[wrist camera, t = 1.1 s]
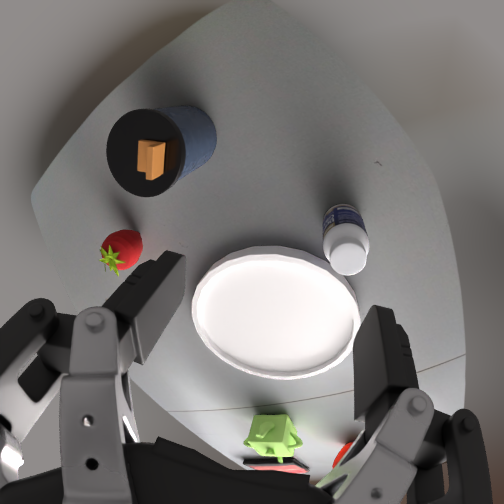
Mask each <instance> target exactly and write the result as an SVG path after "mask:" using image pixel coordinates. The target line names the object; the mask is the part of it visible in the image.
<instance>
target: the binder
mask: <svg viewBox="0 0 504 504" xmlns="http://www.w3.org/2000/svg"><path fill="white" fill-rule="evenodd" d="M243 465H246V466H248V467H251V468H253V469H255V470H278V471H284V472H290V473H307V472H309V471H310V470H309V469H307V468H306V467H304V466H303V465H302V464H300V463H299V462H298V461H297V460H296V459H294V458H286V459H283V463H280V462H278V459H266V460H244V461H243Z"/></svg>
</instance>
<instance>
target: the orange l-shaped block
mask: <svg viewBox="0 0 504 504" xmlns="http://www.w3.org/2000/svg"><path fill="white" fill-rule="evenodd" d="M164 154H165V142H157V141H149V140H139V143H138V165H137V171H141V172H146V179H147V180H153V179H155V178H157V177H158V176H160V175H161V174H163V169H164Z"/></svg>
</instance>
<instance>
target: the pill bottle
mask: <svg viewBox="0 0 504 504" xmlns="http://www.w3.org/2000/svg"><path fill="white" fill-rule="evenodd" d="M323 249H324V253H325V256H326V257H327V259H328V260H329V261H330V264H331V266H332V268H333V269H334V270H335V271H336V272H337V273H339V274H342V275H353V274H356V273H358V272H359V271H361V270H362V269H363V267H364V266H365V264H366V260H367V254H368V251H369V239H368V235H367V232H366V229H365V226H364V223H363V219H362V217H361V215H360V213H359V212H358V210H357V209H355V208H354V207H352V206H350V205H347V204H340V205H336V206H334V207H332V208H330V209H329V210H328V211H327V213H326V214H325V216H324V219H323Z"/></svg>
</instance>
